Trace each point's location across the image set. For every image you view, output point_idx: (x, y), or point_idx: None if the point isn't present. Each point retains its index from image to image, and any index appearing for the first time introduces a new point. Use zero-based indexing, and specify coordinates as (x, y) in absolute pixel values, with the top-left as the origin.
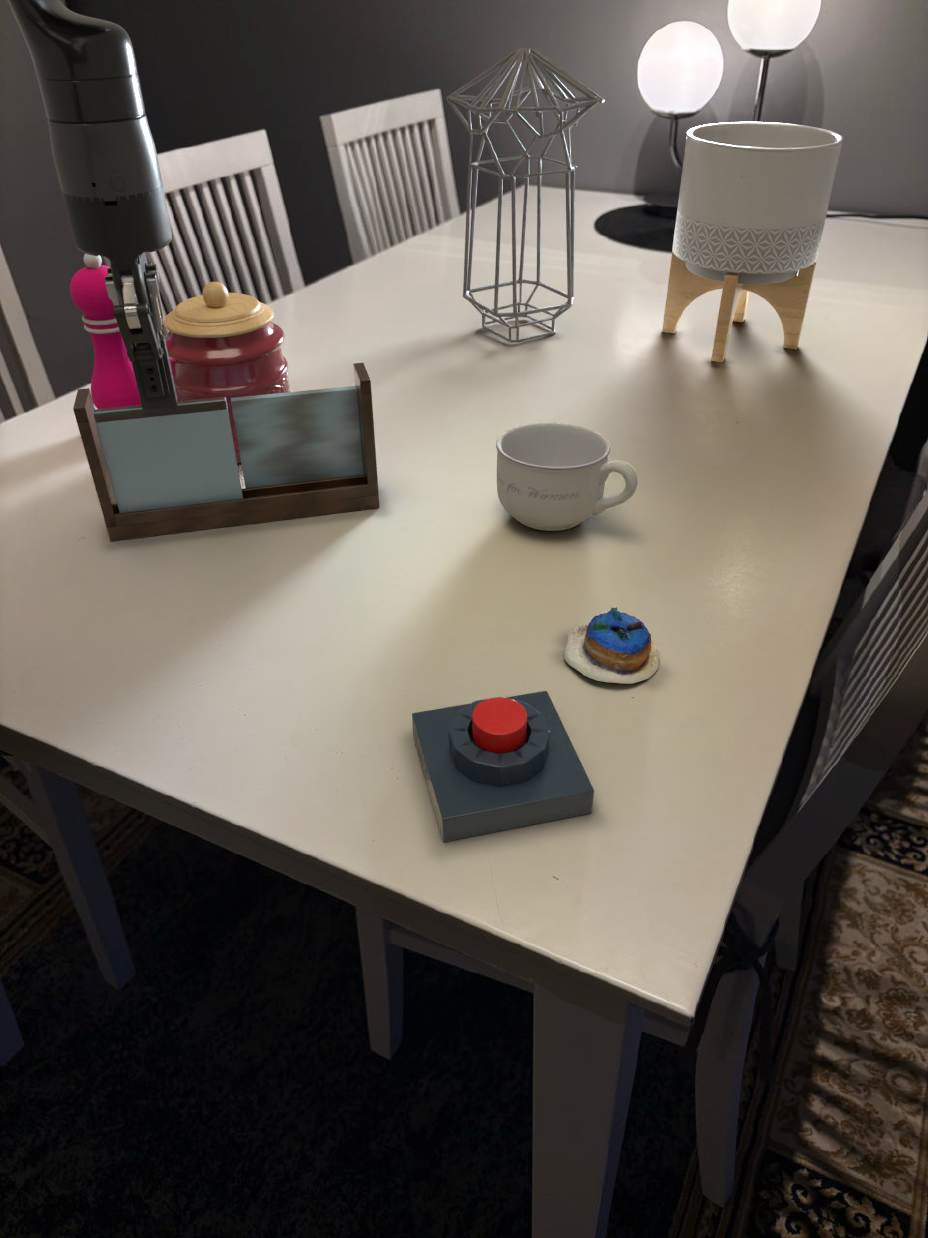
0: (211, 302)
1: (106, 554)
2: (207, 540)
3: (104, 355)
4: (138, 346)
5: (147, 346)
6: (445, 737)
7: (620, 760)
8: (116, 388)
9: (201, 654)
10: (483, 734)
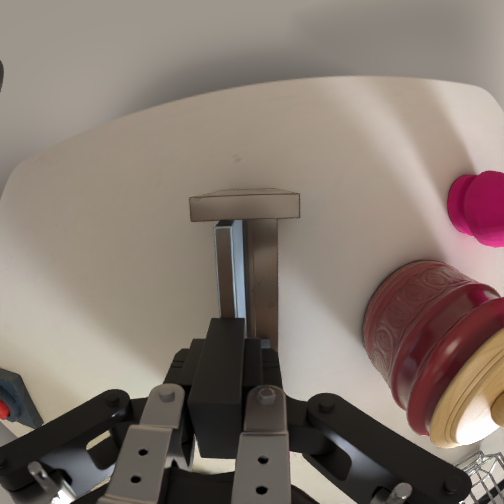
0: (498, 405)
1: (197, 189)
2: (206, 291)
3: None
4: (112, 428)
5: (114, 440)
6: (5, 387)
7: (29, 428)
8: (486, 206)
9: (53, 283)
10: None
